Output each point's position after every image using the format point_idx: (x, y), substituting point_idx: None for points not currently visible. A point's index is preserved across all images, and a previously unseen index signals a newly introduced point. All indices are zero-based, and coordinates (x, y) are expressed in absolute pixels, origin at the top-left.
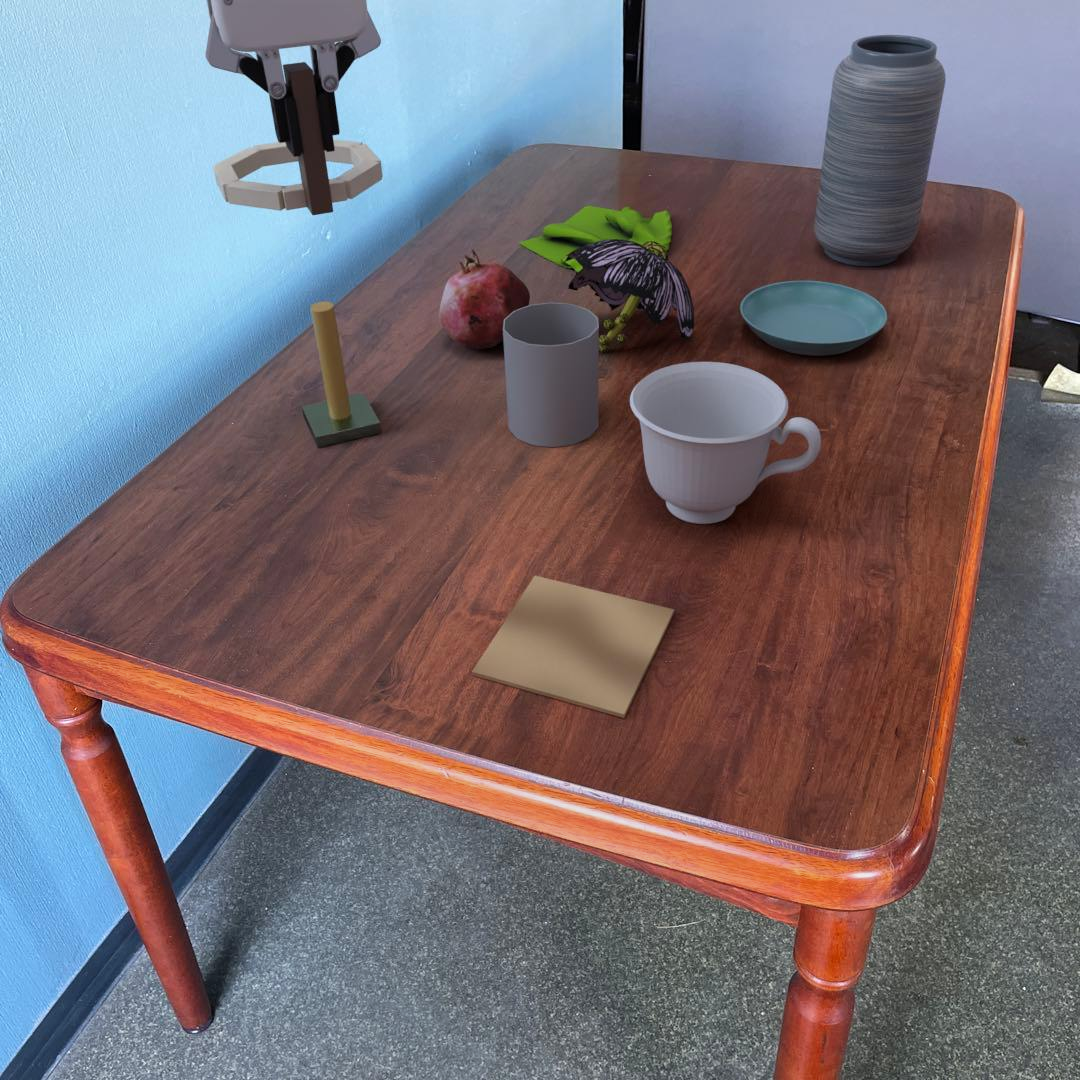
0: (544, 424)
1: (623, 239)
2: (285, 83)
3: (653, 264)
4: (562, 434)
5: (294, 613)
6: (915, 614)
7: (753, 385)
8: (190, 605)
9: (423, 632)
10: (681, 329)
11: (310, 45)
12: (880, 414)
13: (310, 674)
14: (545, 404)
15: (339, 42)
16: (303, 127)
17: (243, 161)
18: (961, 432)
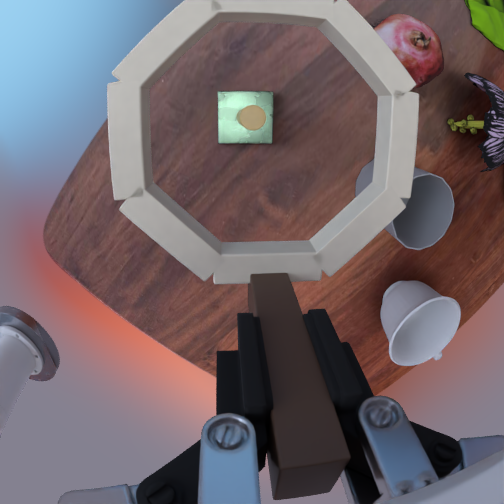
0: None
1: (501, 7)
2: (264, 453)
3: None
4: None
5: (176, 303)
6: (403, 368)
7: (453, 317)
8: (124, 278)
9: (234, 334)
10: (489, 136)
11: (384, 491)
12: (493, 259)
13: (179, 339)
14: None
15: (446, 473)
16: None
17: (171, 55)
18: (498, 283)
